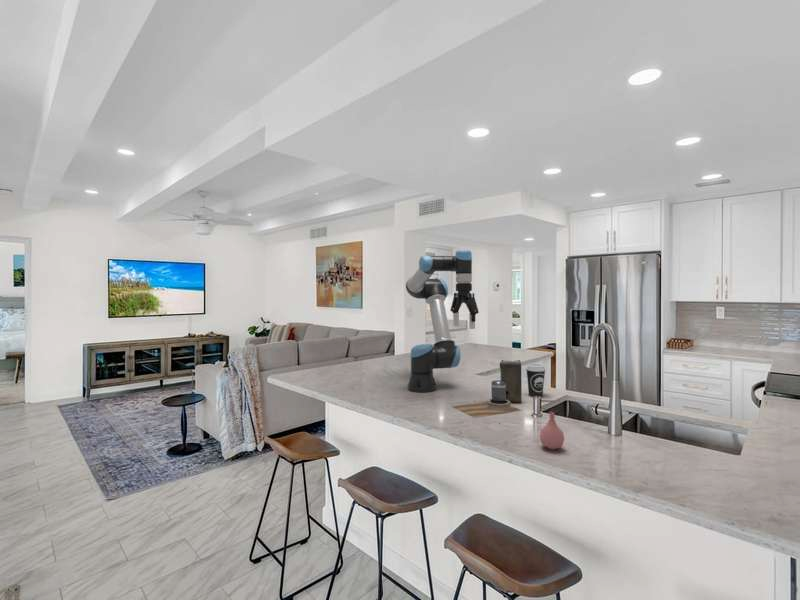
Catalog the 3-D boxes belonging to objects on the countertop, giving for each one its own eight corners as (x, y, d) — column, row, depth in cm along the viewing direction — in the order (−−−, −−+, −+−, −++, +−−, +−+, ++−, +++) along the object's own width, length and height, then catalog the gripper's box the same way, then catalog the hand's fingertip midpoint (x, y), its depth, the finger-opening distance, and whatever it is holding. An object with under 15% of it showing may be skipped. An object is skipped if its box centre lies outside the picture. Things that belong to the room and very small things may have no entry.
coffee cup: (547, 394, 208) (548, 364, 208) (543, 399, 200) (543, 368, 200) (528, 392, 213) (528, 363, 213) (523, 396, 205) (523, 366, 205)
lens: (488, 406, 184) (488, 380, 183) (499, 404, 186) (499, 379, 186) (497, 409, 178) (497, 383, 178) (508, 407, 181) (508, 382, 180)
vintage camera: (516, 396, 208) (515, 356, 208) (522, 403, 193) (521, 360, 193) (496, 396, 209) (495, 356, 209) (501, 403, 194) (500, 360, 194)
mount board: (451, 409, 184) (451, 400, 184) (495, 403, 194) (495, 393, 194) (475, 421, 168) (475, 411, 167) (522, 413, 178) (522, 403, 178)
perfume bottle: (541, 442, 145) (541, 408, 144) (565, 446, 142) (565, 410, 141) (538, 450, 138) (538, 414, 137) (563, 454, 135) (563, 417, 134)
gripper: (443, 283, 208) (443, 325, 208) (472, 282, 185) (472, 330, 186) (456, 283, 211) (456, 325, 212) (486, 282, 188) (486, 329, 189)
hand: (463, 327), depth 199 cm, fingers open, 13 cm apart
